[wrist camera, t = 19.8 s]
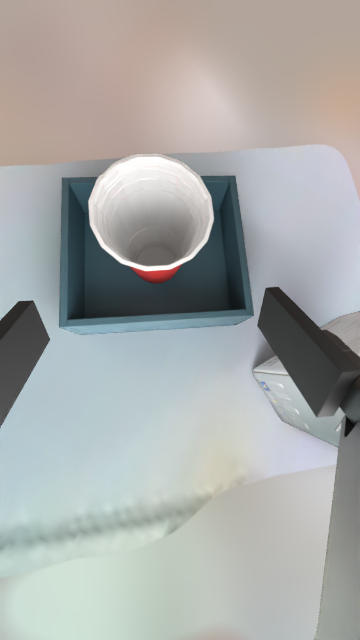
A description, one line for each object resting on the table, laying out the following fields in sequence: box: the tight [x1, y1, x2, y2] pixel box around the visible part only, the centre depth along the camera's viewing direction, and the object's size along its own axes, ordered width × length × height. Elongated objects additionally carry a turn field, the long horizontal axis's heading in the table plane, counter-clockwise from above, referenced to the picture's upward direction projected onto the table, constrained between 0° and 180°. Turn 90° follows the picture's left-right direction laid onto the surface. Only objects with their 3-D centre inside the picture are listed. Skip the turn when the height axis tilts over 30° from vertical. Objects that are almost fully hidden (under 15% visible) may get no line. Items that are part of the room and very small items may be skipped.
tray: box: [59, 176, 254, 335], centre depth 29 cm, size 21×18×6 cm
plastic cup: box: [88, 154, 214, 284], centre depth 25 cm, size 11×11×12 cm
